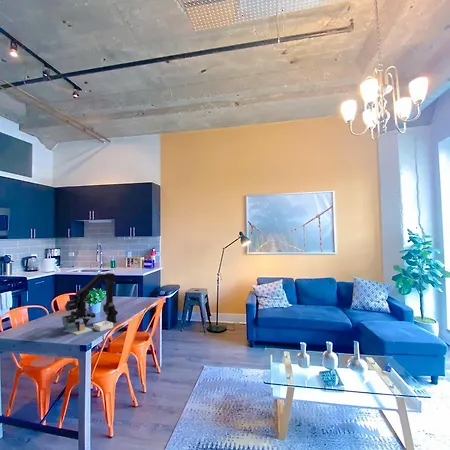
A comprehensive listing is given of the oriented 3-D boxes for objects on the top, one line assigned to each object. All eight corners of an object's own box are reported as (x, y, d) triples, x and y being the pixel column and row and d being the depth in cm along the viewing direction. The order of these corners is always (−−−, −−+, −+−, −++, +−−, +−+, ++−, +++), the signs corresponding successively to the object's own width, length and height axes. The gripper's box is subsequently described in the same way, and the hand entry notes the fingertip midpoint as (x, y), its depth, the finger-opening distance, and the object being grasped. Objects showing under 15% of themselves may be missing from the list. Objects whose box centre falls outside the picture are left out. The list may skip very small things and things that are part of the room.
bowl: (105, 325, 212) (106, 320, 212) (113, 328, 206) (113, 322, 206) (93, 329, 204) (93, 323, 204) (100, 332, 198) (100, 326, 198)
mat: (85, 327, 208) (85, 327, 208) (94, 331, 200) (94, 330, 200) (67, 332, 197) (67, 332, 197) (76, 336, 190) (76, 335, 190)
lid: (84, 327, 206) (85, 320, 207) (92, 330, 200) (92, 323, 200) (69, 331, 198) (69, 324, 198) (76, 335, 191) (76, 327, 191)
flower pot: (73, 325, 213) (73, 314, 213) (78, 327, 208) (78, 316, 208) (61, 328, 206) (61, 316, 207) (66, 331, 201) (66, 318, 201)
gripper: (88, 303, 212) (88, 324, 211) (62, 309, 197) (62, 331, 196) (95, 305, 205) (95, 326, 204) (69, 311, 190) (69, 334, 190)
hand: (81, 329), depth 199 cm, fingers closed on lid, 3 cm apart
